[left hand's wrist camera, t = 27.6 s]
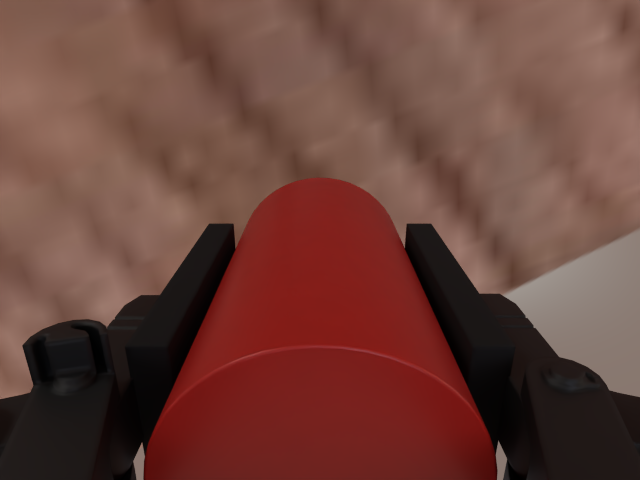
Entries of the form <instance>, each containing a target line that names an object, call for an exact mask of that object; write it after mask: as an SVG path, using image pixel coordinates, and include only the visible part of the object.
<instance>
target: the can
mask: <svg viewBox="0 0 640 480" xmlns="http://www.w3.org/2000/svg"><path fill="white" fill-rule="evenodd" d="M144 480H497V463H496V455H495V451H494V447H493V444H492V441H491V437H490V435H489V433H488V430H487V428H486V426H485V424H484V422H483V419H482V417H481V415H480V413H479V411H478V408H477V406H476V404H475V402H474V400H473V397H472V395H471V393H470V391H469V389H468V387H467V384H466V382H465V380H464V378H463V376H462V373H461V371H460V369H459V367H458V365H457V362H456V360H455V358H454V356H453V354H452V351H451V349H450V347H449V345H448V343H447V340H446V338H445V336H444V334H443V332H442V329H441V327H440V325H439V323H438V321H437V318H436V316H435V314H434V312H433V310H432V307H431V305H430V303H429V301H428V299H427V296H426V294H425V292H424V290H423V288H422V285H421V283H420V281H419V279H418V277H417V274H416V272H415V270H414V268H413V266H412V263H411V261H410V259H409V257H408V255H407V252H406V250H405V248H404V246H403V244H402V241H401V239H400V237H399V235H398V233H397V230H396V228H395V226H394V224H393V222H392V220H391V218H390V216H389V214H388V213H387V211H386V210H385V209H384V207H383V206H382V205H381V204H380V203H379V202H378V201H377V200H376V199H375V198H374V197H373V196H372V195H370V194H369V193H368V192H366V191H365V190H363V189H361V188H360V187H357V186H355V185H353V184H351V183H348V182H345V181H341V180H337V179H331V178H310V179H304V180H299V181H296V182H293V183H290V184H287V185H285V186H283V187H281V188H279V189H277V190H276V191H274V192H273V193H272V194H270V195H269V196H268V197H267V198H265V199H264V200H263V201H262V202H261V203H260V204H259V206H258V207H257V208H256V209H255V211H254V212H253V214H252V215H251V217H250V219H249V221H248V223H247V225H246V227H245V230H244V232H243V234H242V236H241V238H240V241H239V243H238V245H237V247H236V249H235V252H234V254H233V256H232V258H231V260H230V263H229V265H228V267H227V269H226V271H225V274H224V276H223V278H222V280H221V283H220V285H219V287H218V289H217V291H216V294H215V296H214V298H213V300H212V302H211V305H210V307H209V309H208V311H207V313H206V316H205V318H204V320H203V322H202V324H201V327H200V329H199V331H198V333H197V335H196V338H195V340H194V342H193V344H192V346H191V349H190V351H189V353H188V355H187V357H186V360H185V362H184V364H183V366H182V368H181V371H180V373H179V375H178V377H177V379H176V382H175V384H174V386H173V388H172V390H171V393H170V395H169V397H168V399H167V401H166V404H165V406H164V408H163V410H162V413H161V415H160V417H159V419H158V421H157V424H156V426H155V428H154V430H153V433H152V435H151V438H150V440H149V442H148V446H147V451H146V455H145V460H144Z"/></svg>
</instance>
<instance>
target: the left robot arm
mask: <svg viewBox="0 0 640 480" xmlns="http://www.w3.org/2000/svg"><path fill="white" fill-rule="evenodd" d="M405 250H406V252H407V255H408V257H409V259H410V261H411V263H412V266H413V268H414V270H415V272H416V274H417V277H418V279H419V281H420V283H421V285H422V288H423V290H424V292H425V294H426V296H427V299H428V301H429V303H430V305H431V307H432V310H433V312H434V314H435V316H436V318H437V321H438V323H439V325H440V327H441V329H442V332H443V334H444V336H445V338H446V340H447V343H448V345H449V347H450V349H451V351H452V354H453V356H454V358H455V360H456V362H457V365H458V367H459V369H460V371H461V373H462V376H463V378H464V380H465V382H466V384H467V387H468V389H469V391H470V393H471V395H472V397H473V400H474V402H475V404H476V406H477V408H478V411H479V413H480V415H481V417H482V419H483V422H484V424H485V426H486V428H487V430H488V433H489V435H490V437H491V441H492V444H493V447H494V451H495V455H496V450H497V445H498V440H499V442H500V444H501V446H502V449H503V451H504V453H505V455H506V457H507V463H506V469H505V473H504V478H503V480H640V397H636V396H631V395H626V394H621V393H617V392H613V391H609V389H608V387H607V385H606V384H605V382H604V381H603V380H602V379H601V377H600V376H599V375H598V374H596V373H595V372H593V371H592V370H591V369H589V368H588V367H586V366H584V365H582V364H579V363H577V362H575V361H572V360H568V359H564V358H560V357H559V356H558V355H557V354H556V353H555V352H554V350H553V349H552V348H551V347H550V345H549V344H548V343H547V342H546V340H545V339H544V338H543V337H542V336H541V334H540V333H539V332H538V331H537V329H536V328H534V327H533V324H532V323H531V322H530V321H529V320H528V318H526V317H525V315H524V313H523V312H522V311H521V310H520V308H519V307H518V306H517V305H516V304H515V303H514V302H512V301H510V300H509V299H507V298H505V297H504V296H502V295H501V294H479V293H478V291H477V290H476V288H475V287H474V285H473V284H472V282H471V281H470V280H469V278H468V277H467V275H466V274H465V272H464V271H463V269H462V268H461V266H460V265H459V264H458V262H457V261H456V259H455V258H454V256H453V255H452V253H451V252H450V250H449V249H448V248H447V246H446V245H445V243H444V242H443V240H442V239H441V237H440V236H439V234H438V233H437V232H436V230H435V229H434V227H433V226H432V224H407V227H406V241H405ZM234 252H235V237H234V224H209V225H208V226H207V228H206V229H205V231H204V232H203V233H202V235H201V236H200V238H199V239H198V241H197V242H196V244H195V245H194V247H193V248H192V249H191V251H190V252H189V254H188V255H187V257H186V258H185V260H184V261H183V263H182V264H181V265H180V267H179V268H178V270H177V271H176V273H175V274H174V276H173V277H172V278H171V280H170V281H169V283H168V284H167V286H166V287H165V289H164V290H163V292H162V293H161V294H160V295H141V296H139V297H137V298H136V299H134V300H133V301H131V302H129V303H128V304H126V305H125V306H124V307H123V308H122V309H121V311H120V312H119V313H118V314H117V316H116V317H115V320H113V321H112V322H111V323H110V324H109V326H108V327H107V328H106V326H105V325H103V324H102V323H101V322H99V321H94V320H89V319H87V320H72V321H67V322H62V323H58V324H55V325H53V326H50V327H47V328H45V329H42V330H41V331H39V332H38V333H36V334H34V335H33V336H31V337H30V338H29V339H28V340H27V341H26V342H25V343H24V344H23V345H22V346H23V350H24V353H25V357H26V360H27V364H28V367H29V371H30V374H31V378H32V382H33V385H34V386H33V388H32V390H31V392H30V393H27V394H23V395H19V396H14V397H9V398H4V399H0V480H136V474H135V468H134V463H133V460H134V458H135V456H136V454H137V452H138V449H139V447H140V445H141V443H143V448H144V454H145V455H146V451H147V446H148V442H149V440H150V438H151V435H152V433H153V430H154V428H155V426H156V424H157V421H158V419H159V417H160V415H161V413H162V410H163V408H164V406H165V404H166V401H167V399H168V397H169V395H170V393H171V390H172V388H173V386H174V384H175V382H176V379H177V377H178V375H179V373H180V371H181V368H182V366H183V364H184V362H185V360H186V357H187V355H188V353H189V351H190V349H191V346H192V344H193V342H194V340H195V338H196V335H197V333H198V331H199V329H200V327H201V324H202V322H203V320H204V318H205V316H206V313H207V311H208V309H209V307H210V305H211V302H212V300H213V298H214V296H215V294H216V291H217V289H218V287H219V285H220V283H221V280H222V278H223V276H224V274H225V271H226V269H227V267H228V265H229V263H230V260H231V258H232V256H233V254H234Z"/></svg>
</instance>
